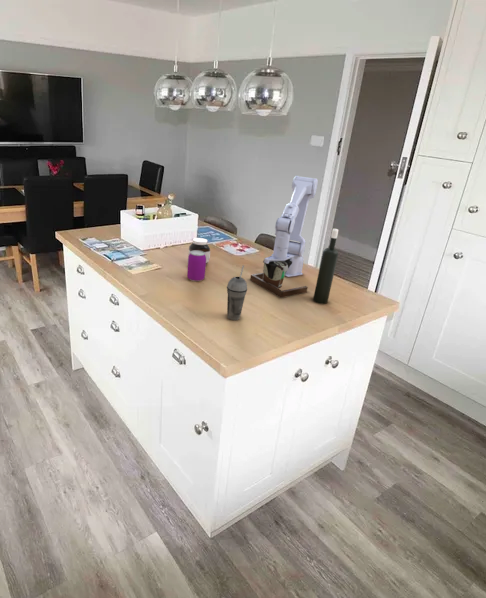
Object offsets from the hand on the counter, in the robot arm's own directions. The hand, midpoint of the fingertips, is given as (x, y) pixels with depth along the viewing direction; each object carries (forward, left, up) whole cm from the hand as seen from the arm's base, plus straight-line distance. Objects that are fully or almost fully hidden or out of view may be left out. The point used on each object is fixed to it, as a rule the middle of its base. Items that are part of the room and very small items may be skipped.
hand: (276, 277), depth 178 cm
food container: (0, 0, -3) cm, 3 cm away
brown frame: (-2, 0, -4) cm, 5 cm away
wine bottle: (-8, +19, -5) cm, 21 cm away
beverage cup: (+34, +17, -5) cm, 38 cm away
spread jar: (+18, -35, -5) cm, 40 cm away
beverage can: (+28, -20, -5) cm, 35 cm away
